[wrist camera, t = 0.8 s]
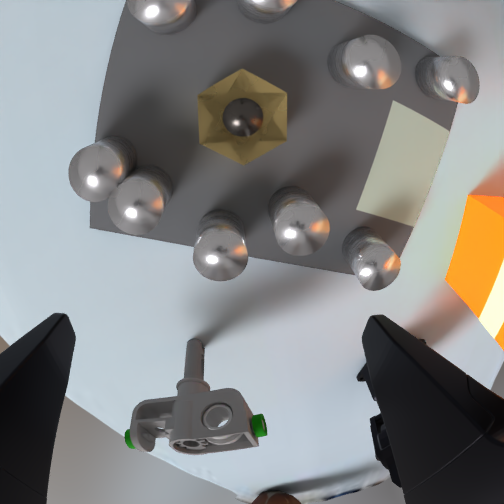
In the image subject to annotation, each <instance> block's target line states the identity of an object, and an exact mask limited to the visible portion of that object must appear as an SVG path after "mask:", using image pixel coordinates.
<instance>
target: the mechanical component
mask: <svg viewBox="0 0 504 504" xmlns="http://www.w3.org/2000/svg"><path fill="white" fill-rule="evenodd" d="M204 349H205V348H202V343H201V341H200V340H198V339H192V340H190V341H188V342H187V349H186V359H185V370H184V379H182V380H180V381H179V382H178V383H177V386H176V388H177V390H178V395H177V396H175V397H167V398H158V399H149V400H144V401H142V402H140V403H139V404H138V405H137V406H136V407H135V408H134V410H133V413H132V419H131V425H130V429H128V430H127V431H126V432H125V442H126V444H127V446H128V447H129V448H132V449H135V448H136V449H137V450H139V451H141V452H150V451H152V450H153V449H154V446H155V439H156V438H164V437H167V438H168V439H169V446H170V447H171V448H173V449H174V450H175V451H176V452H179V453H183V454H189V455H202V454H207V453H215V452H223V451H231V450H238V449H245V448H251V447H257V446H259V444H258V437H262V436H267V427H266V422H265V419H264V416H263V414H258V415H253V414H252V412H251V410H250V408H249V407H248V405H247V403H246V402H245V400H244V398H243V396H242V395H241V393H240V392H239V391H237V390H235V389H232V388H224V389H219V390H213V391H210V386H209V384H208V383H207V382H205V381H204ZM225 420H228V421H227V423H226V424H225V425H223V426H221V427H218V425H219V424H220V423H221V422H223V421H225ZM157 427H160V428H163V429H159V428H157Z"/></svg>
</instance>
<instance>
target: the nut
mask: <svg viewBox="0 0 504 504" xmlns="http://www.w3.org/2000/svg"><path fill="white" fill-rule="evenodd" d="M197 100H198V123H199V143H200V144H201V145H203V146H205V147H207V148H209V149H211V150H213V151H215V152H217V153H220V154H222V155H224V156H226V157H228V158H230V159H232V160H234V161H236V162H238V163H240V164H242V165H246V164H248V163H249V162H251V161H253V160H254V159H256V158H258V157H260V156H261V155H263V154H265V153H267V152H268V151H270V150H272V149H274V148H275V147H277V146H279V145H281V144H282V143H284V142H286V141H287V93H286V92H285V91H283V90H281V89H279V88H278V87H276V86H274V85H272V84H270V83H269V82H267V81H265V80H263V79H261V78H259V77H257V76H256V75H254V74H252V73H250V72H248V71H246V70H244V69H240V70H239V71H237V72H235V73H233V74H232V75H230V76H228V77H226V78H225V79H223V80H221V81H219V82H218V83H216V84H214V85H213V86H211V87H209V88H208V89H206V90H205V91H203V92H201V93H200V94H198V95H197Z"/></svg>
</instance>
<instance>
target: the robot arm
mask: <svg viewBox="0 0 504 504" xmlns="http://www.w3.org/2000/svg"><path fill="white" fill-rule="evenodd" d="M75 341H76V336H75V332H74V330H73V327H72V325H71V322H70V320H69V317H68V316H67V315H66V314H64V313H54V314H52V315H51V316H50V317H48V318H47V319H45V320H44V321H43V322H41V323H40V324H39V325H37V326H36V327H35V328H33V329H32V330H31V331H29V332H28V333H27V334H25V335H24V336H23V337H21V338H20V339H19V340H17V341H16V342H15V343H13V344H12V345H11V346H10V347H8V348H7V349H6V350H5V351H3V352H2V353H1V354H0V504H46V502H47V498H46V497H47V489H48V481H49V474H50V467H51V460H52V454H53V448H54V442H55V437H56V432H57V427H58V422H59V418H60V413H61V409H62V405H63V401H64V396H65V393H66V389H67V385H68V380H69V374H70V368H71V362H72V357H73V351H74V346H75ZM362 344H363V348H364V352H365V356H366V361H367V363H366V364H365V366H364V367H363V369H362V370H361V371H360V373H359V374H358V375H357V380H358V381H366V383H367V385H368V388H369V390H370V393H371V395H372V397H373V400H374V401H377V403H378V406H379V408H380V411H381V413H380V414H378V415H377V416H373V417H372V418H370V423H371V425H370V427H371V432H372V437H373V443H374V448H375V457H376V459H377V460H378V461H381V463H382V464H383V466H384V467H385V468H386V469H388V470H389V472H390V476H391V479H392V482H393V483H395V484H396V485H397V486H399V487H402V489H403V493H404V498H405V502H406V504H504V399H503V398H502V397H500V396H498V395H497V394H495V393H494V392H492V391H490V390H489V389H487V388H486V387H484V386H483V385H482V384H480V383H479V382H477V381H476V380H475V379H473V378H472V377H470V376H469V375H466V373H465V372H463V371H462V370H461V369H459V368H458V367H457V366H455V365H454V364H452V363H451V362H450V361H448V360H447V359H445V358H444V357H443V356H441V355H440V354H438V353H437V352H436V351H434V350H433V349H431V348H430V347H429V346H427V345H426V342H425V340H424V339H417V338H416V337H414V336H413V335H412V334H410V333H409V332H407V331H406V330H404V329H403V328H402V327H400V326H399V325H397V324H396V323H394V322H393V321H392V320H390V319H389V318H387V317H386V316H384V315H372V316H370V317H369V319H368V322H367V324H366V327H365V330H364V332H363V335H362Z"/></svg>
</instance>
